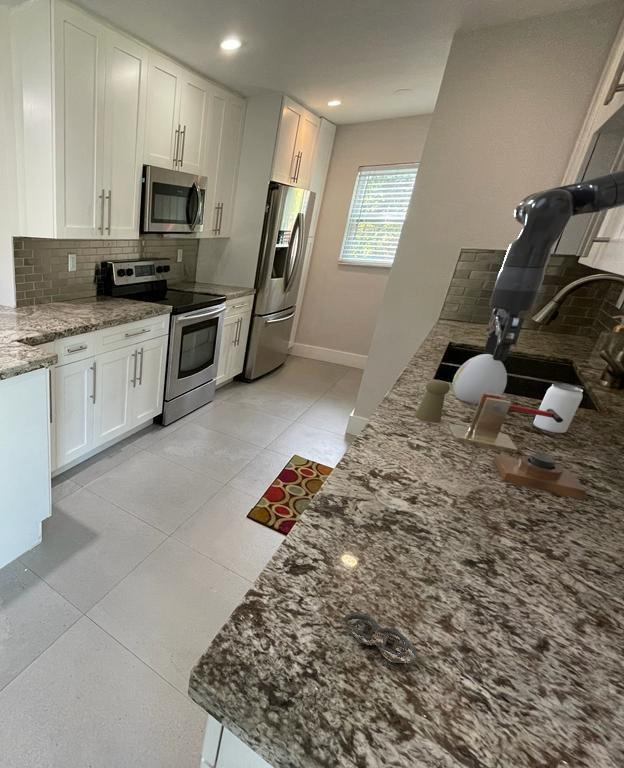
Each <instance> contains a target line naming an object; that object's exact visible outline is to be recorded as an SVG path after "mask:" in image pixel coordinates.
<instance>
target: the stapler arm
mask: <svg viewBox="0 0 624 768" xmlns="http://www.w3.org/2000/svg"><path fill="white" fill-rule="evenodd" d="M487 398H492V397H487ZM493 399H497V398H493ZM499 400H502V399H499ZM508 410H510V411H515V412H521V413H526V414H530V415H531V414H532V415H535V416H536V415H541V416H546V417H551V418H553V419H554V420H555V421H556V422H558V423H560V422H562V421H563V419H562V418H561V417H560V416H559V415H558V414H557V413H556V412H555V411H554V410H553V409H547V410H546V411H542V410H539V409H538V408H537V409H536V408H531V407H526V406H521V405H515V404H512V403H511V404H510V407H509V409H508Z"/></svg>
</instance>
